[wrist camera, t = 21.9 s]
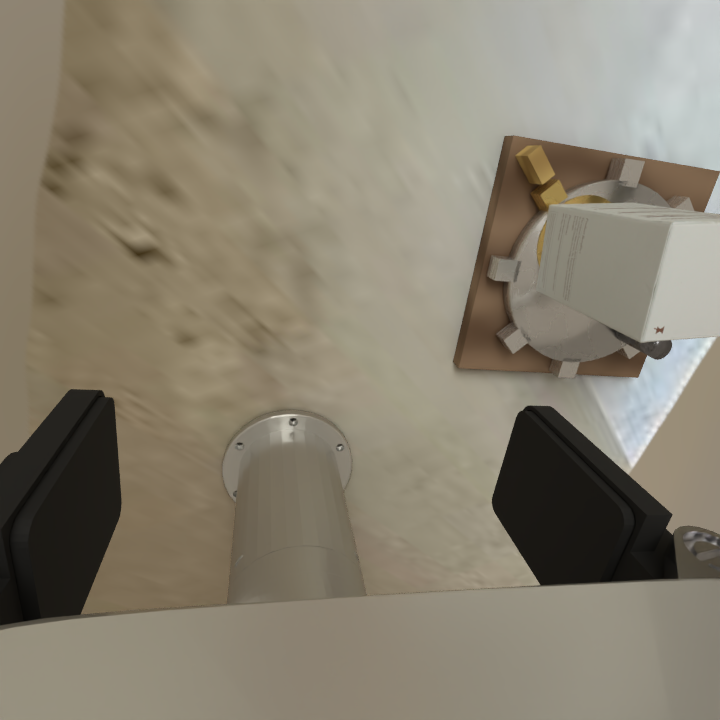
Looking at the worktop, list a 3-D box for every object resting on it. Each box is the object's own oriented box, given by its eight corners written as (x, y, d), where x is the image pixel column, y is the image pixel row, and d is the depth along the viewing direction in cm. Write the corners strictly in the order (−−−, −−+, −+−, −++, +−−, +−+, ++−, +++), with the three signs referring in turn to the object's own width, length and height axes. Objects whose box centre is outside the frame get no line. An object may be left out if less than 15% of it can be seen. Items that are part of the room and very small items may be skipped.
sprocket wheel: (709, 285, 45) (769, 303, 40) (546, 406, 48) (581, 438, 42) (638, 105, 37) (701, 97, 32) (445, 261, 40) (473, 279, 34)
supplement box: (610, 288, 41) (740, 340, 30) (532, 291, 40) (638, 346, 29) (630, 200, 38) (784, 220, 27) (548, 200, 37) (672, 221, 26)
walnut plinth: (628, 371, 50) (652, 386, 47) (453, 361, 46) (467, 377, 42) (705, 170, 42) (741, 172, 39) (504, 136, 38) (526, 134, 35)
